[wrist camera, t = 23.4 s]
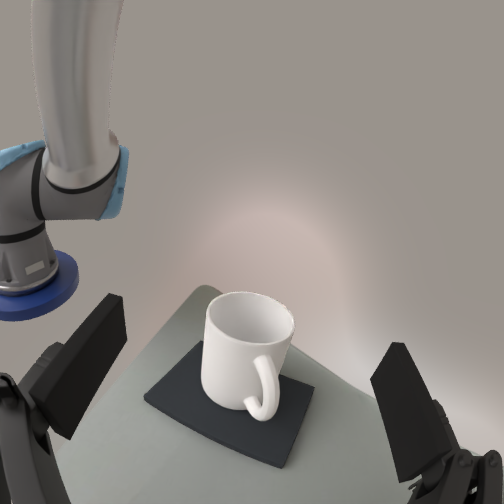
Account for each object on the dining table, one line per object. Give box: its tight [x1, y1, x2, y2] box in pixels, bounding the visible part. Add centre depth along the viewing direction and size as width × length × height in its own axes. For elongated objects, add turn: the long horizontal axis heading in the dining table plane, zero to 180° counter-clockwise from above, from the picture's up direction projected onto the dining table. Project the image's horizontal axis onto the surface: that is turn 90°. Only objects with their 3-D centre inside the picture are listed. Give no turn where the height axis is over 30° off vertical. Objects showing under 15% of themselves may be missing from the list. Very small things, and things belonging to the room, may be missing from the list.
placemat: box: [144, 341, 315, 468], centre depth 27 cm, size 16×12×1 cm
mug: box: [201, 292, 295, 421], centre depth 25 cm, size 12×8×10 cm
